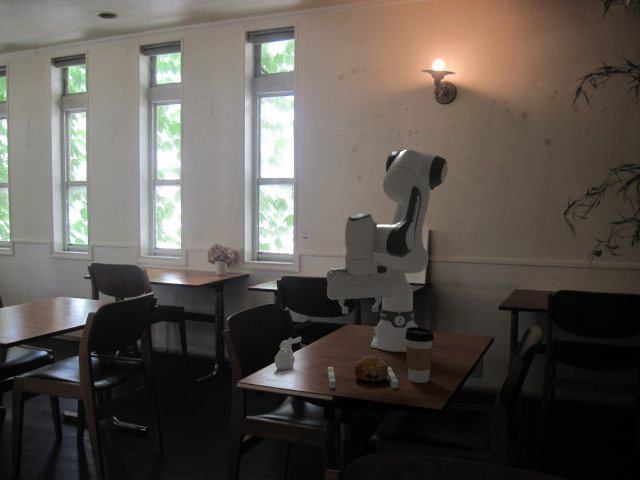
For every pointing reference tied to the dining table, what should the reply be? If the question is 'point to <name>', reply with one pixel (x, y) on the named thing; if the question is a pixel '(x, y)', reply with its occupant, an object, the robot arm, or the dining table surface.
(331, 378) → the channel
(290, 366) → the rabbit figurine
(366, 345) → the dining table surface
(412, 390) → the dining table surface
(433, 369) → the dining table surface
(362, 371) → the bread roll
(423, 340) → the coffee cup
